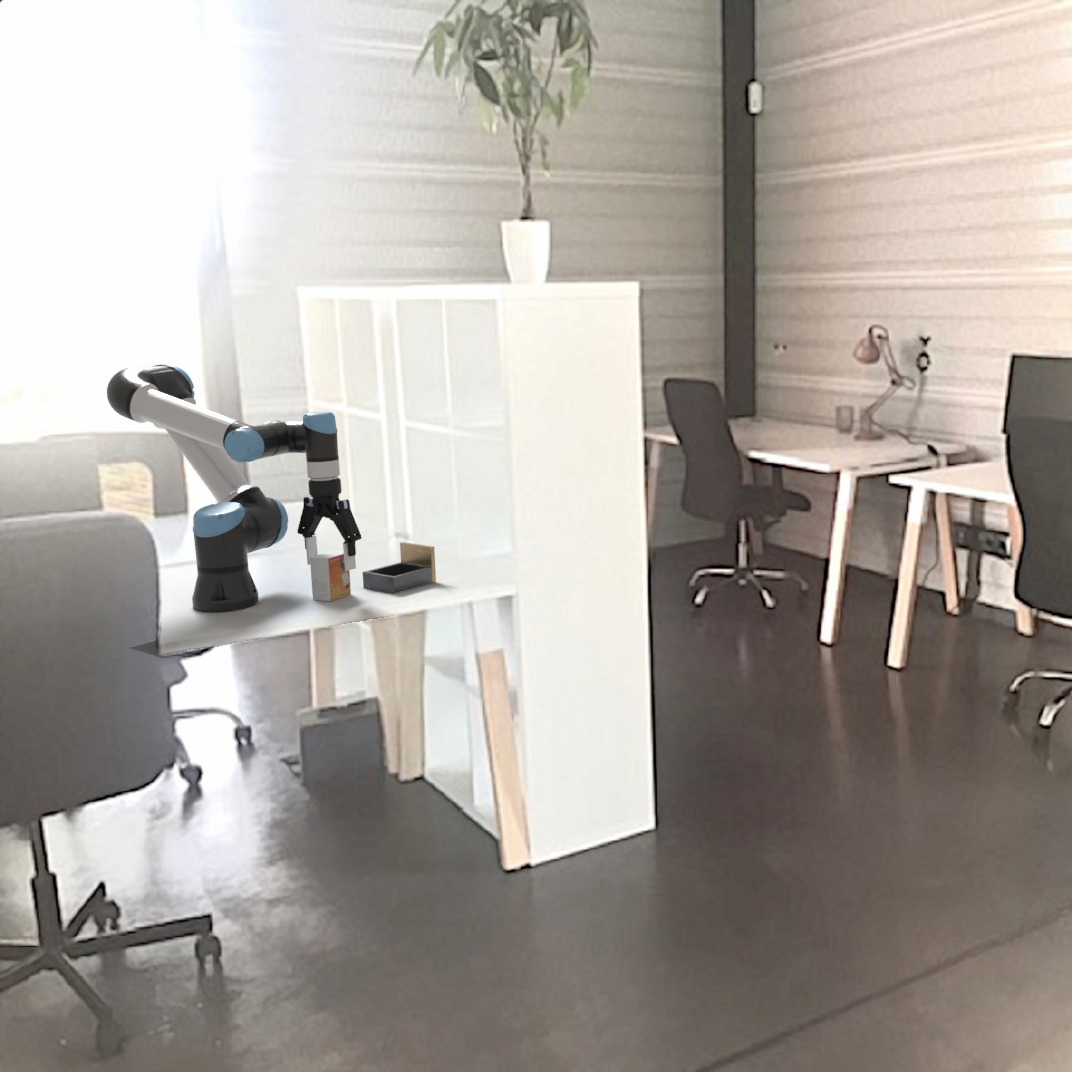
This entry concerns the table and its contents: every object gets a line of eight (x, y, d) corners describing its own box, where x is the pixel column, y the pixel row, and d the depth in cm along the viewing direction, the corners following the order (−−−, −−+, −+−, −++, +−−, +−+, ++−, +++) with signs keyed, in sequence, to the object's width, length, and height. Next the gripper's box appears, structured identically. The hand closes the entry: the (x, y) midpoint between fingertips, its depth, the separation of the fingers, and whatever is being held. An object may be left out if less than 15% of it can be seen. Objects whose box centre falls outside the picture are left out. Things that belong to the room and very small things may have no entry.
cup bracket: (363, 587, 291) (361, 552, 289) (405, 576, 302) (403, 542, 300) (394, 593, 284) (392, 557, 282) (436, 582, 295) (434, 546, 293)
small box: (330, 602, 278) (327, 558, 276) (312, 600, 281) (309, 556, 279) (351, 594, 285) (349, 551, 283) (333, 592, 288) (330, 550, 286)
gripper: (372, 478, 272) (378, 568, 276) (302, 473, 288) (310, 558, 292) (347, 483, 267) (354, 575, 271) (278, 477, 282) (285, 564, 287)
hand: (331, 566), depth 281 cm, fingers open, 13 cm apart
